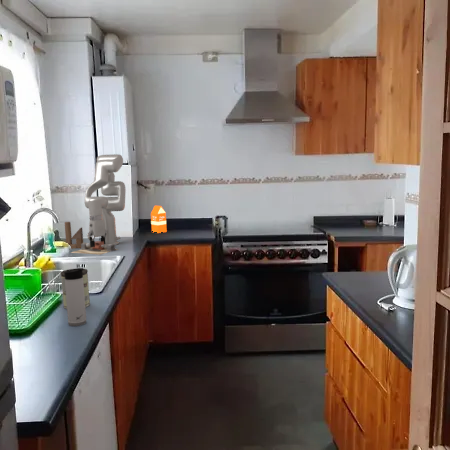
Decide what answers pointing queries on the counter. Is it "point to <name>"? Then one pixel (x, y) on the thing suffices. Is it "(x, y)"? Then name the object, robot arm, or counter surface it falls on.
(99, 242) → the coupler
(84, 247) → the jig
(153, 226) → the orange juice
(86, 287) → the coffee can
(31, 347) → the counter surface
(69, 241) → the brown long handled part
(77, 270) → the travel mug
